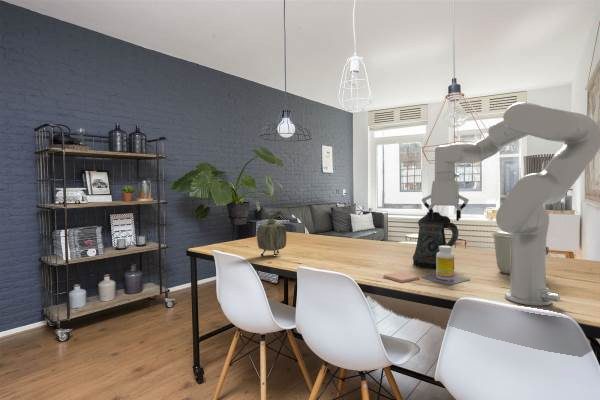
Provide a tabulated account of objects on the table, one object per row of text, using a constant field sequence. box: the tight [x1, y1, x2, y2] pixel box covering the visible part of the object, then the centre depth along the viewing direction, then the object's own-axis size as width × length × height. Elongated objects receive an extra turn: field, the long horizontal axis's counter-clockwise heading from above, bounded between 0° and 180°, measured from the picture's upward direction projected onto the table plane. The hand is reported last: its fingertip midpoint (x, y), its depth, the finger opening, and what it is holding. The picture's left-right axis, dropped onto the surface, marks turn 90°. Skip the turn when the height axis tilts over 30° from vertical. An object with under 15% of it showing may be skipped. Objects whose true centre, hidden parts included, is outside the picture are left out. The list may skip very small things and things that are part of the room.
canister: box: [491, 229, 513, 275], centre depth 147 cm, size 18×18×21 cm
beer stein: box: [412, 211, 459, 270], centre depth 164 cm, size 16×19×25 cm
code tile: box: [420, 273, 471, 286], centre depth 140 cm, size 13×13×1 cm
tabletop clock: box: [256, 210, 287, 257], centre depth 193 cm, size 14×9×25 cm, turn 130°
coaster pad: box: [382, 271, 421, 283], centre depth 143 cm, size 10×10×1 cm
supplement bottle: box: [435, 246, 455, 280], centre depth 140 cm, size 7×7×13 cm
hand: (444, 220), depth 140 cm, fingers open, 9 cm apart
